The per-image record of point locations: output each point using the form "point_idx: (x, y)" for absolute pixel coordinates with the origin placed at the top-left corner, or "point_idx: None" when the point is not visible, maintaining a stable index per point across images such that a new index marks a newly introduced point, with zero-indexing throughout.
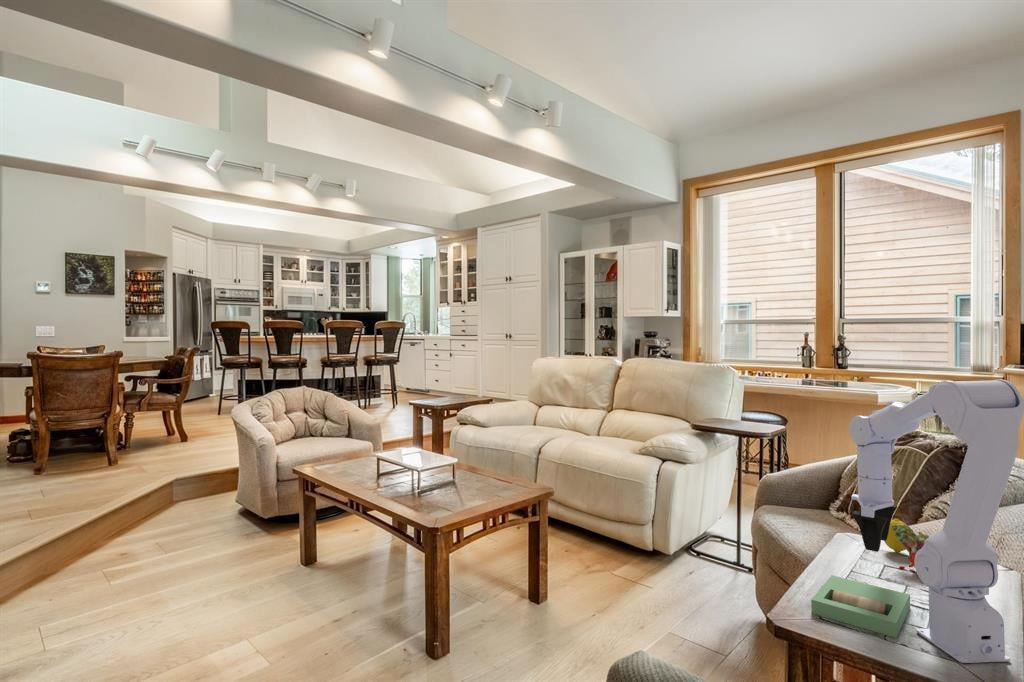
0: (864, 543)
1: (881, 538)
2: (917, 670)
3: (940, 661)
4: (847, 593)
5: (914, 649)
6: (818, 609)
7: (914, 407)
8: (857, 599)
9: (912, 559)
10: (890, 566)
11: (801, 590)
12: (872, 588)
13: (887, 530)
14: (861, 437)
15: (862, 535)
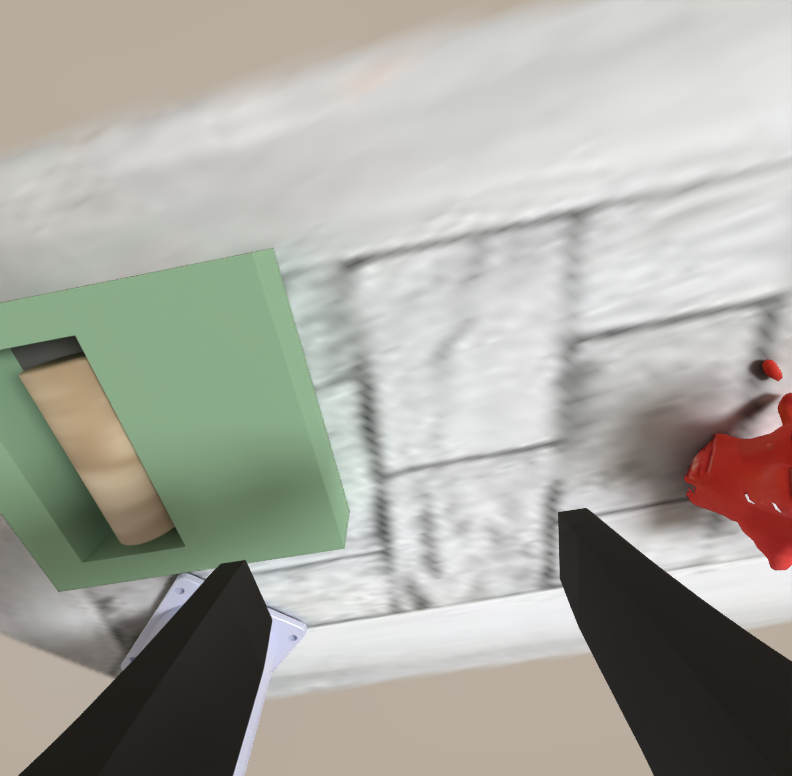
0: (186, 604)
1: (564, 567)
2: None
3: (90, 635)
4: (69, 427)
5: (84, 591)
6: None
7: None
8: (75, 467)
9: (782, 451)
10: (770, 324)
11: (94, 152)
12: (273, 449)
13: (613, 685)
14: None
15: (110, 689)
